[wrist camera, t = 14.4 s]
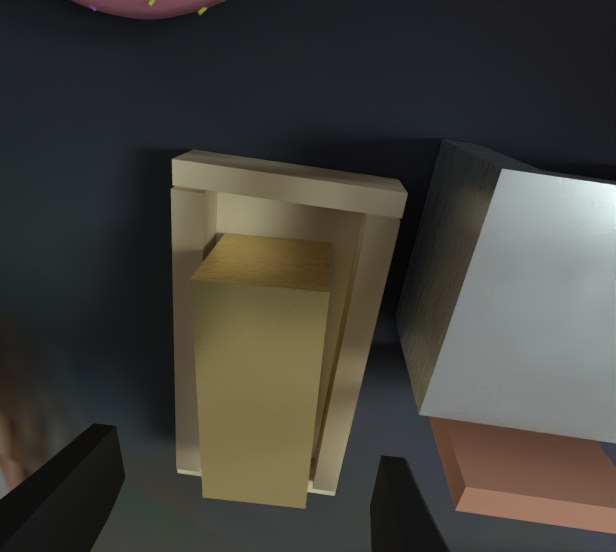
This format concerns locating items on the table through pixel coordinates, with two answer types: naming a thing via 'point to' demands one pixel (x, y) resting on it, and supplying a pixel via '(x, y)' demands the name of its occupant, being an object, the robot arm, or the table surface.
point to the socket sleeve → (513, 297)
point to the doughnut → (149, 7)
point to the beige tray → (291, 225)
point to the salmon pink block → (527, 475)
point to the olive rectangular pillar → (259, 365)
